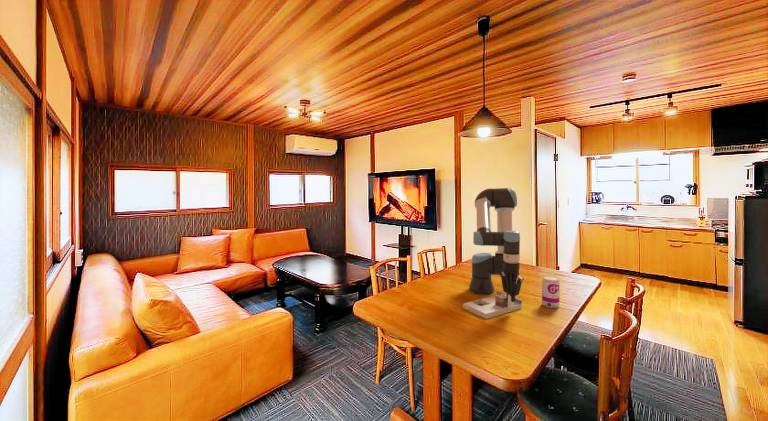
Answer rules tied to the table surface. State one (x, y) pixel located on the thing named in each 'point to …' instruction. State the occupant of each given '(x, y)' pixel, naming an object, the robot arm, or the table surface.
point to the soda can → (550, 292)
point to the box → (490, 307)
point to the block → (501, 300)
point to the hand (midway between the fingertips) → (510, 307)
